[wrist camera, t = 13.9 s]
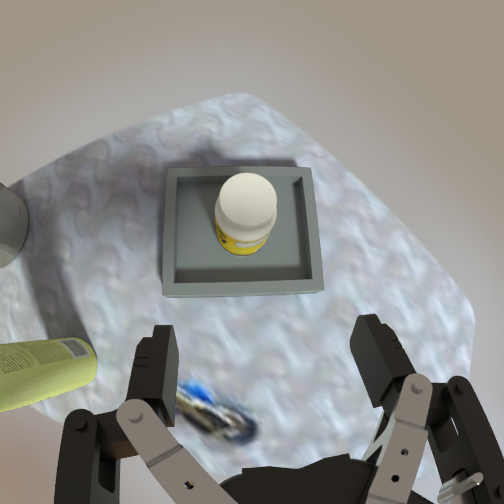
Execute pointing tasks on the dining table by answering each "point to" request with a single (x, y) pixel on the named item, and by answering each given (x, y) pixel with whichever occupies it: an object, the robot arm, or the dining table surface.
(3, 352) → the tube
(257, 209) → the supplement bottle
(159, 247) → the dining table surface
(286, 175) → the tray
